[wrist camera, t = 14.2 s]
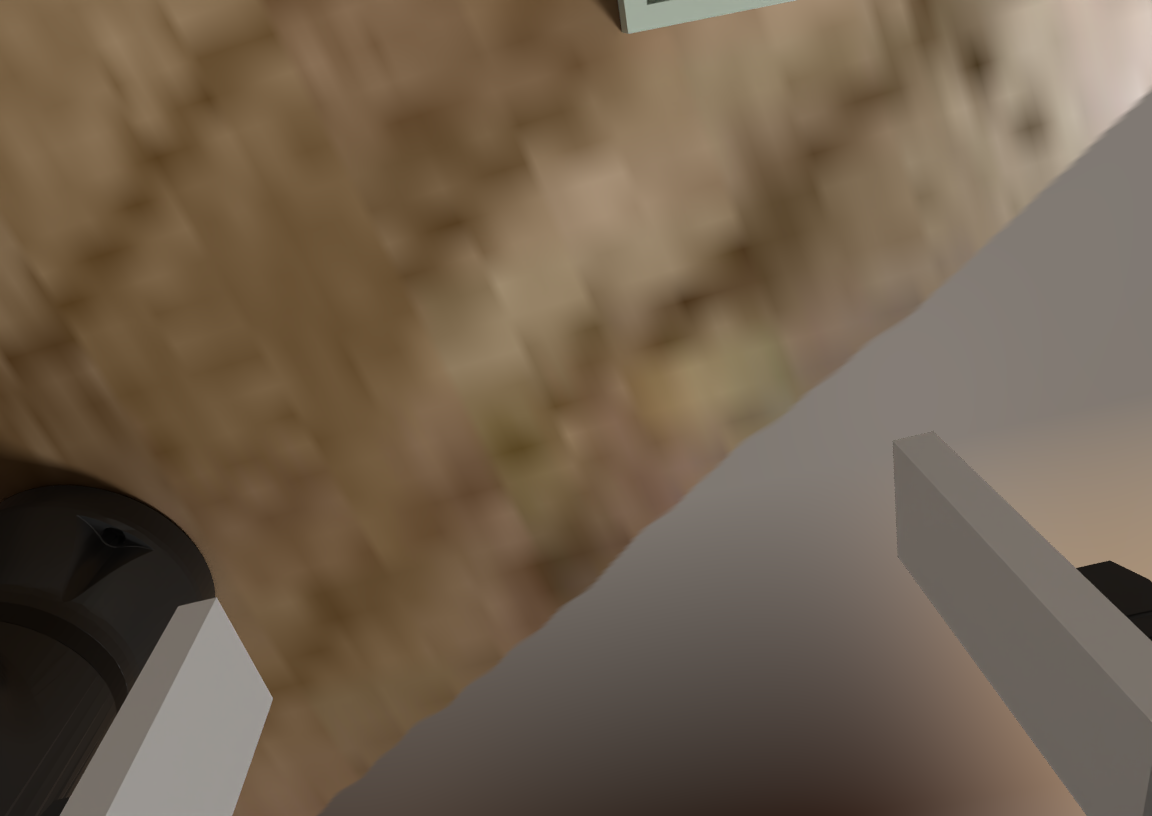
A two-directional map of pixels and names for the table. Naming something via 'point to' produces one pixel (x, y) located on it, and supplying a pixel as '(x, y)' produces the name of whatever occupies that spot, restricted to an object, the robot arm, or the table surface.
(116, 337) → the table surface
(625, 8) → the tray
